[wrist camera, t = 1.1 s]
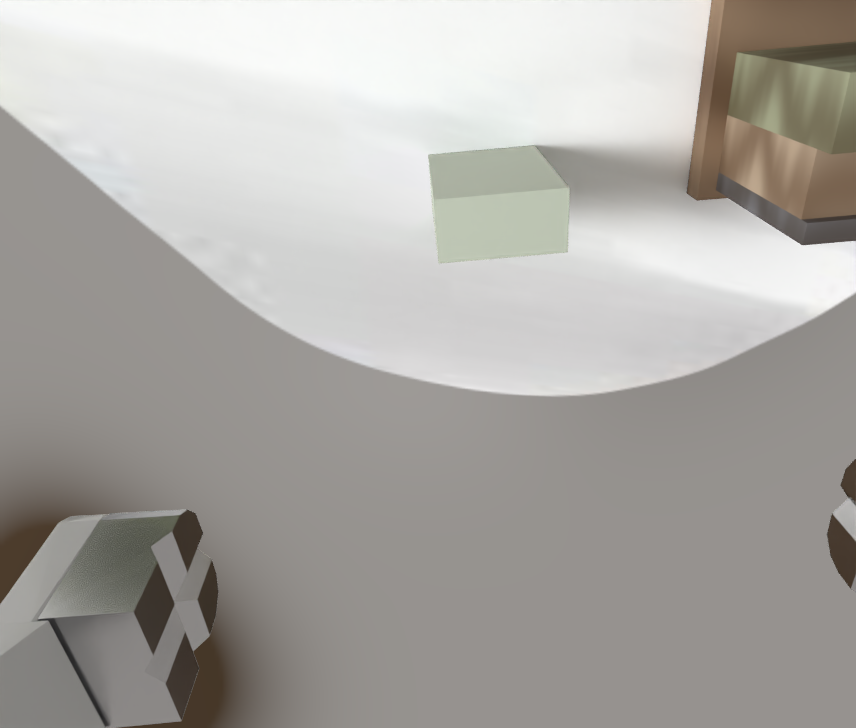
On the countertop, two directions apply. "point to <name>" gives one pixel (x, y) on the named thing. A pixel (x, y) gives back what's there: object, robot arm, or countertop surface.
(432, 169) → the pale green box
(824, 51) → the book rack
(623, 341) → the countertop surface
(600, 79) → the countertop surface
